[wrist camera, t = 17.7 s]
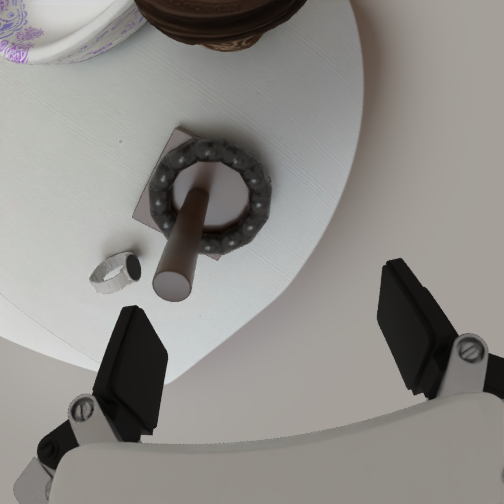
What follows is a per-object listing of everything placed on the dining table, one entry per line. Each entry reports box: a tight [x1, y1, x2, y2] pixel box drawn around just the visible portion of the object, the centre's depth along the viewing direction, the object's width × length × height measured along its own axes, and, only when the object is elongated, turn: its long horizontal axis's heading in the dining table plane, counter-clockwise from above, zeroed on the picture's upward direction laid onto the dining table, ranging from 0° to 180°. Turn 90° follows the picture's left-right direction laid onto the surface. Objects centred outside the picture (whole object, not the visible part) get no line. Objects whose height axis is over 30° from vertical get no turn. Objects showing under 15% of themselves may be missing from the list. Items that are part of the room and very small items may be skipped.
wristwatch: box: [89, 252, 141, 294], centre depth 26 cm, size 3×5×5 cm, turn 106°
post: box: [132, 126, 271, 302], centre depth 20 cm, size 9×9×13 cm
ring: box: [148, 139, 272, 255], centre depth 23 cm, size 10×10×2 cm
